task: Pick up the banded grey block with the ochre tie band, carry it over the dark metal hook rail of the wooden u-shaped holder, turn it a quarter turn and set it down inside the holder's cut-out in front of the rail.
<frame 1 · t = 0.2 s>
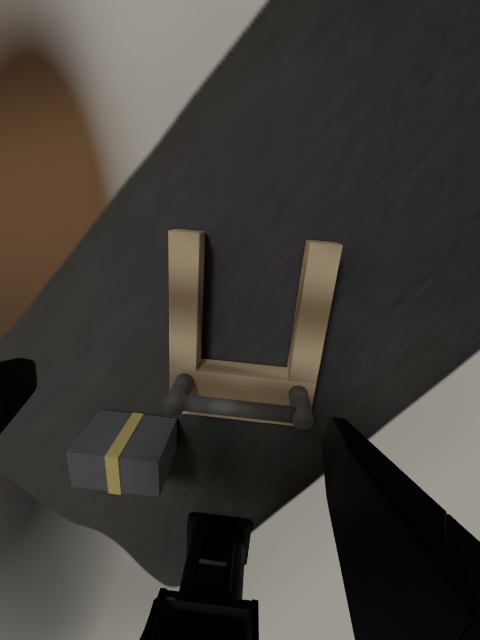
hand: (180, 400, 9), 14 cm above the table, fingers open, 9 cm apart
wooden u-shaped holder: (246, 328, 23), on the table
banded grey block: (139, 429, 27), on the table
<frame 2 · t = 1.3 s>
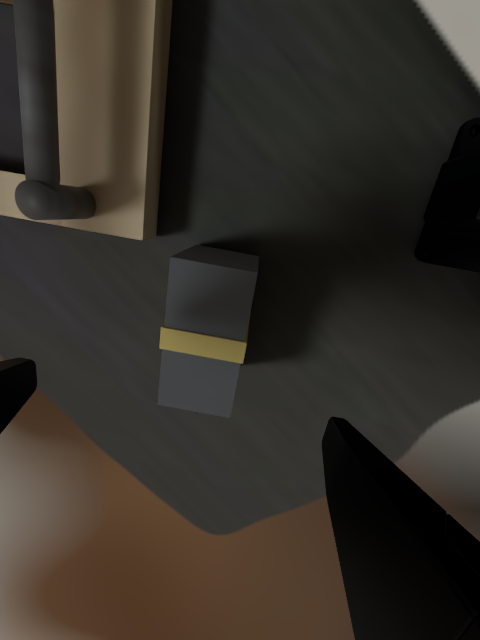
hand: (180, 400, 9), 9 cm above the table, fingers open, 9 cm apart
wooden u-shaped holder: (23, 97, 15), on the table
banded grey block: (218, 310, 18), on the table
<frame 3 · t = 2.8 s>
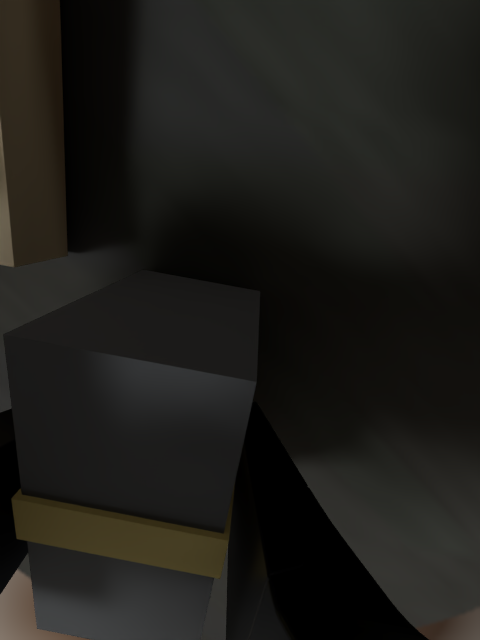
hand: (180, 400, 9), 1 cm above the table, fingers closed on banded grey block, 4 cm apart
banded grey block: (188, 382, 10), on the table, touching gripper
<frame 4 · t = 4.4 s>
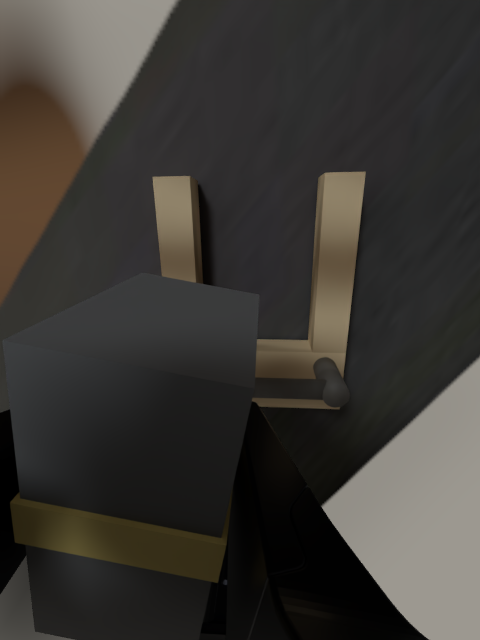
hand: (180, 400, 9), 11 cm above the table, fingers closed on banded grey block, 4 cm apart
wooden u-shaped holder: (256, 296, 20), on the table
banded grey block: (187, 385, 10), point 10 cm above the table, touching gripper
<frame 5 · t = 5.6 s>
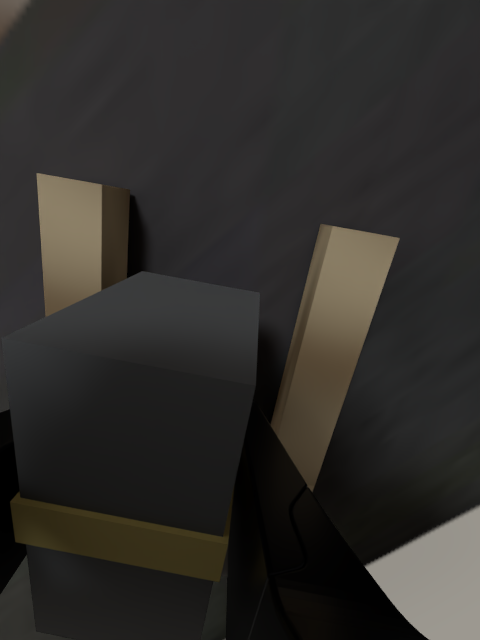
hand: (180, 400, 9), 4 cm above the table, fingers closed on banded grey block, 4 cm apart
wooden u-shaped holder: (201, 374, 13), on the table
banded grey block: (188, 384, 10), point 3 cm above the table, touching gripper
when the fingers open (3 cm above the table, at t = 6.5 s): banded grey block drops 2 cm, resting in wooden u-shaped holder.
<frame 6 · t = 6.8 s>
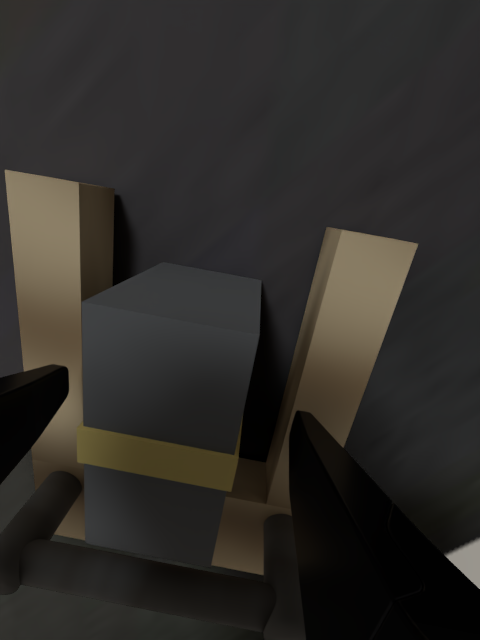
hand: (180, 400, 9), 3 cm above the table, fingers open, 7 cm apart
wooden u-shaped holder: (195, 390, 12), on the table
banded grey block: (200, 359, 12), resting in wooden u-shaped holder
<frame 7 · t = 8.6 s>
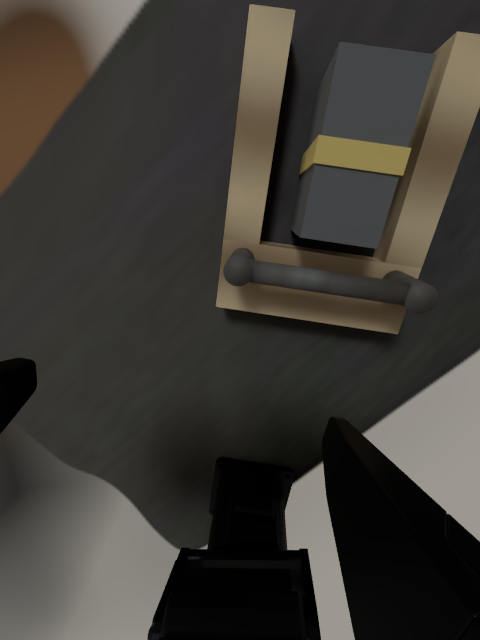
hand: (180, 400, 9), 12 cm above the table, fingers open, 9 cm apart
wooden u-shaped holder: (327, 196, 17), on the table
banded grey block: (333, 169, 17), resting in wooden u-shaped holder
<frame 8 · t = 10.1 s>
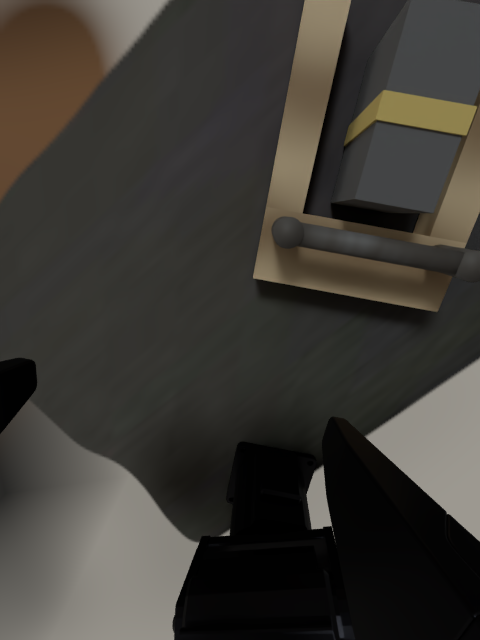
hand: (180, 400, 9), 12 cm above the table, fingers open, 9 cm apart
wooden u-shaped holder: (371, 169, 17), on the table
banded grey block: (378, 141, 17), resting in wooden u-shaped holder
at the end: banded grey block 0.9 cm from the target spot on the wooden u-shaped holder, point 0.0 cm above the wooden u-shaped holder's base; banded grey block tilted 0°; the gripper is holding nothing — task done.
